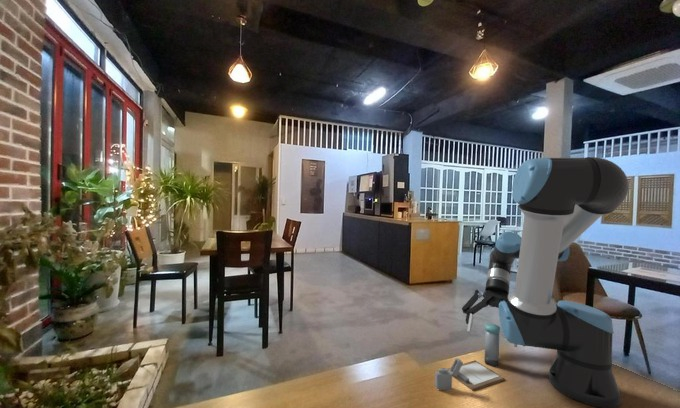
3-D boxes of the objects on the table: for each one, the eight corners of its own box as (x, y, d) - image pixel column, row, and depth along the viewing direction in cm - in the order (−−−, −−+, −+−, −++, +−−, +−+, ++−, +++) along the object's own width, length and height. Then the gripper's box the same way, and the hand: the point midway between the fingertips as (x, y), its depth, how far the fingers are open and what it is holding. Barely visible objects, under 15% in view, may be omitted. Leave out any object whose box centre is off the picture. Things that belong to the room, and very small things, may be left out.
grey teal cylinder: (502, 365, 90) (502, 327, 90) (493, 368, 88) (493, 329, 88) (490, 358, 94) (490, 322, 94) (481, 361, 92) (482, 324, 92)
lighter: (436, 390, 77) (437, 360, 77) (434, 386, 78) (435, 357, 78) (462, 390, 77) (463, 361, 77) (459, 386, 79) (460, 357, 79)
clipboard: (504, 379, 82) (504, 374, 82) (472, 391, 77) (473, 385, 77) (475, 362, 91) (475, 357, 91) (445, 371, 86) (445, 365, 86)
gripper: (538, 295, 99) (537, 356, 87) (463, 283, 114) (453, 333, 101) (538, 284, 95) (537, 345, 83) (460, 272, 109) (449, 323, 97)
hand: (491, 339), depth 92 cm, fingers open, 13 cm apart
